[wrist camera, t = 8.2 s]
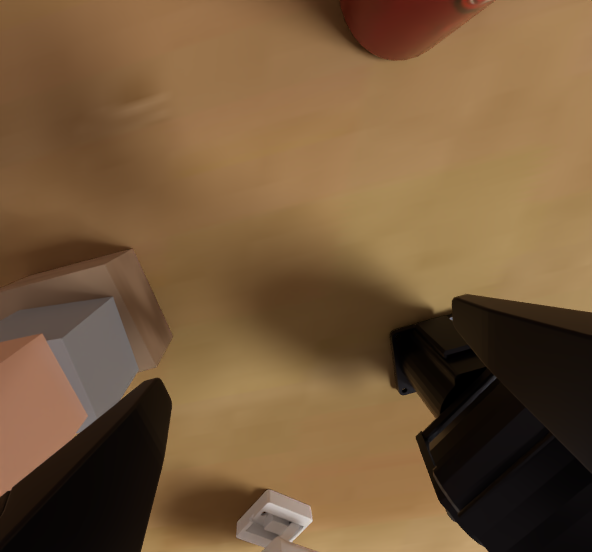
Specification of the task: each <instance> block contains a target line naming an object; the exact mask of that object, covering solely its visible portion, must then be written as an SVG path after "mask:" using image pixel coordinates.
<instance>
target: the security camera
mask: <svg viewBox="0 0 592 552" xmlns="http://www.w3.org/2000/svg"><path fill="white" fill-rule="evenodd" d="M263 512H266V513H263ZM312 521H313V520H312V513H311V507H310V506H309V505H307V504H304V503H302V502H299V501H297V500H295V499H292V498H290V497H287V496H285V495H282V494H280V493H278V492H275V491H273V490H270V489H268V490H266V491H265V492H264V493H263V495H262V496H261V497H260V498H259V499H258V500H257V501H256V502H255V503H254V504H253V505H252V506H251V507H250V509H249V510H248V511H247V512H246V513H245V514H244V515H243V516H242V517H241V518H240V519H239V520H238V522H237V532H236V538H238V539H241V540H244V541H247V542H250V543H253V544H256V545H259V546H262V547H265V549H264V550H263V551H262V552H317V551H314V550H312V549H309V548H306V547H303V546H300V545H298V544H295V543H292V541H293V540H294V539H295V538H296V537H297V536H298V535H299V534H300V533H301V532H302V531H303V530H304V529H305V528H306V527H307V526H308V525H309V524H310V523H311V522H312Z"/></svg>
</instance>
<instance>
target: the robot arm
mask: <svg viewBox="0 0 592 552" xmlns="http://www.w3.org/2000/svg"><path fill="white" fill-rule="evenodd" d="M396 335H398V337H396V338H395V336H396ZM390 341H391V349H392V356H393V363H394V370H395V378H396V385H397V390H398V392H399V393H400V394H401V395H407V394H410V393H414V392H417V394H418V395H419V396H420V398H421V399H422V400H423V402H424V403H425V404H426V406H427V407H428V409H429V410H430V411H431V413H432V414H433V415H434V417H435V418H436V419H435V420H434V421H433V422H432V423H431V424H430V425H429V426H428V427H427V428H426V429H425V430H424V431H423V432H422V431H421V432H420V433H419V434H418V435H417V436H416V440H417V443H418V445H419V448H420V451H421V454H422V457H423V459H424V462H425V465H426V468H427V470H428V473H429V476H430V478H431V481H432V484H433V487H434V489H435V492H436V495H437V497H438V500H439V501H440V503H441V504H442V505H443V506H444V508H445V509H446V512H447V514H448V516H449V517H450V518H451V519H452V520H453V521H454V522H457V523H458V524H459V526H460V527H461V528H462V529H463V530H464V531H465V532H466V533H467V534H468V535H469V536H470V537H471V538H472V539H474V540H475V541H476V542H477V543H478V544H480V545H482V546H484V547H485V548H486V549H487V550H488V552H592V313H591V312H585V311H578V310H571V309H564V308H558V307H551V306H544V305H537V304H531V303H524V302H517V301H510V300H504V299H497V298H490V297H483V296H477V295H470V294H465V295H461V296H457V297H454V298H453V300H452V314H451V315H447V316H442V317H438V318H434V319H431V320H427V321H423V322H420V323H417V324H414V325H411V326H407V327H403V328H400V329H396V330H393V331H392V332H391V334H390ZM404 388H405V389H404ZM402 389H403V390H402ZM171 410H172V401H171V398H170V396H169V394H168V392H167V390H166V388H165V386H164V384H163V382H162V380H161V379H160V378H154V379H150V380H146V381H144V382H142V383H141V384H140V385H139V386H137V387H136V388H135V389H134V390H132V391H131V392H130V393H129V394H128V395H126V396H125V397H124V398H123V399H121V400H120V401H119V402H118V403H116V404H115V405H114V406H113V407H111V408H110V409H109V410H108V411H106V412H105V413H104V414H103V415H101V416H100V417H99V418H98V419H96V420H95V421H94V422H93V423H91V424H90V425H89V426H88V427H86V428H85V429H84V430H83V431H82V432H80V433H79V434H78V435H77V436H75V437H74V438H73V439H72V440H70V441H69V442H68V443H67V444H65V445H64V446H63V447H62V448H60V449H59V450H58V451H57V452H55V453H54V454H53V455H52V456H50V457H49V458H48V459H47V460H45V461H44V462H43V463H42V464H40V465H39V466H38V467H37V468H36V469H34V470H33V471H32V472H31V473H29V474H28V475H27V476H26V477H24V478H23V479H22V480H21V481H19V482H18V483H17V484H16V485H14V486H13V487H12V489H11V490H9V491H7V492H6V493H4V494H3V495H2V496H1V497H0V552H141V549H142V545H143V541H144V537H145V533H146V529H147V525H148V521H149V517H150V513H151V509H152V505H153V501H154V497H155V494H156V490H157V486H158V482H159V478H160V474H161V470H162V466H163V461H164V456H165V451H166V444H167V437H168V430H169V424H170V417H171Z"/></svg>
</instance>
